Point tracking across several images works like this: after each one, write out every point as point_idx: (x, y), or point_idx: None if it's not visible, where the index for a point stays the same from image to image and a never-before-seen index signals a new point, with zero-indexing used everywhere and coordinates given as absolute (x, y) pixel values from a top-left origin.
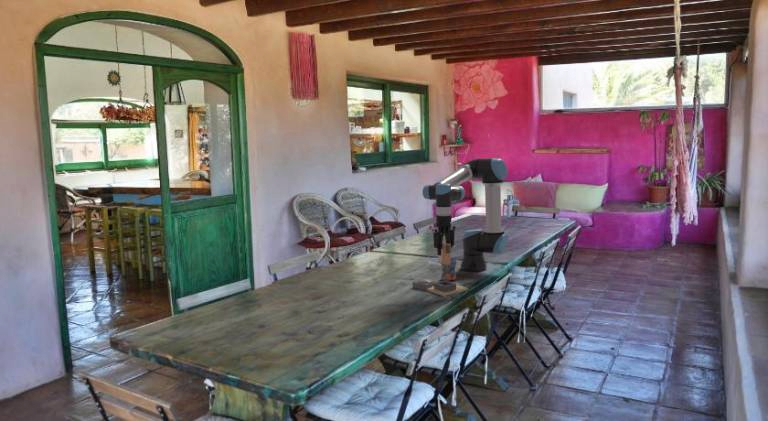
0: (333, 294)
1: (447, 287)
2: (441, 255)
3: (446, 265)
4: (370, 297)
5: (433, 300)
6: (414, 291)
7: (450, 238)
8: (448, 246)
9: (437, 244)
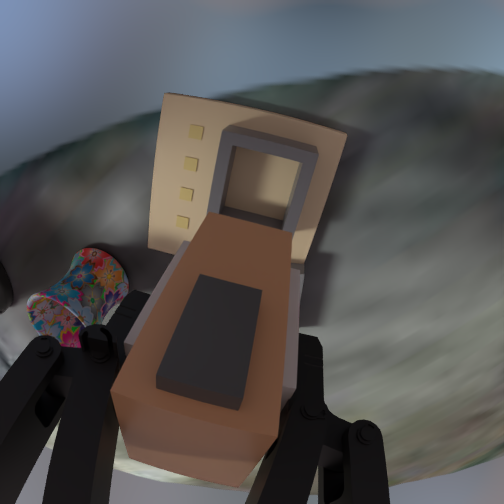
0: (453, 416)
1: (297, 145)
2: (296, 324)
3: (89, 313)
4: (465, 354)
5: (434, 141)
6: (344, 292)
7: (29, 450)
8: (199, 364)
9: (377, 475)
